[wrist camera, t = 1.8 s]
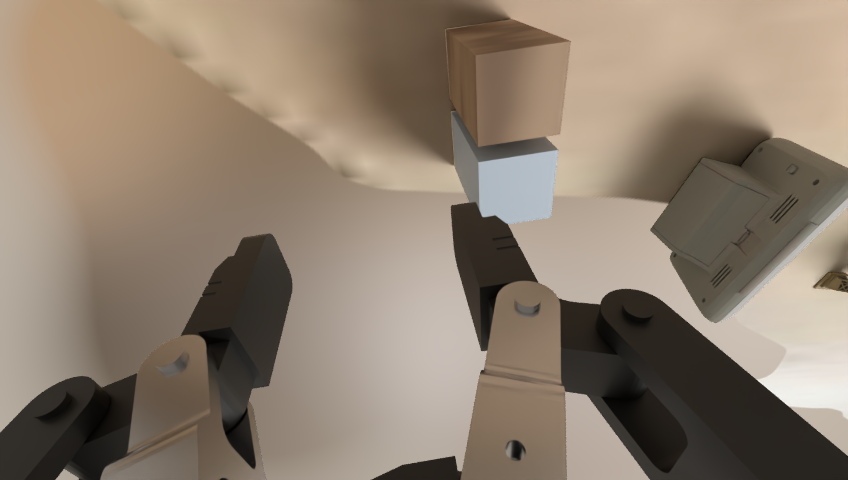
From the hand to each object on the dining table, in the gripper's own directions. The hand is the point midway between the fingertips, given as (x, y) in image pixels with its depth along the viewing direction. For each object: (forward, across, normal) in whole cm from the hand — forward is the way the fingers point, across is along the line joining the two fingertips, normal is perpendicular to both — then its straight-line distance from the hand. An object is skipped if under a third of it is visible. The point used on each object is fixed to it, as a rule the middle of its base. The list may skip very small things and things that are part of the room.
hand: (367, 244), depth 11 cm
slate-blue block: (+21, -8, +6) cm, 24 cm away
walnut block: (+21, -8, 0) cm, 23 cm away
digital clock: (+22, -33, +17) cm, 43 cm away
